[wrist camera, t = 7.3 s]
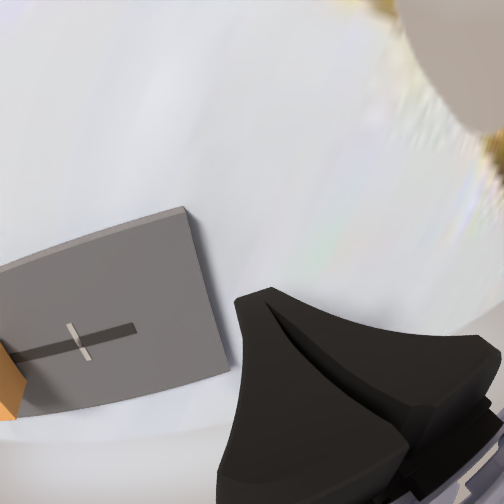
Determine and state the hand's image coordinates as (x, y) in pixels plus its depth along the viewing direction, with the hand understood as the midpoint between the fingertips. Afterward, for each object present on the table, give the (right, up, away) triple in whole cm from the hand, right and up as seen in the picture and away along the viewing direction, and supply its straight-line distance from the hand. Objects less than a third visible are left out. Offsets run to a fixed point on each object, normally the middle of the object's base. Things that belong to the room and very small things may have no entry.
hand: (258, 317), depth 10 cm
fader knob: (-18, -6, +4) cm, 19 cm away
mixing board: (-14, -4, +7) cm, 17 cm away
